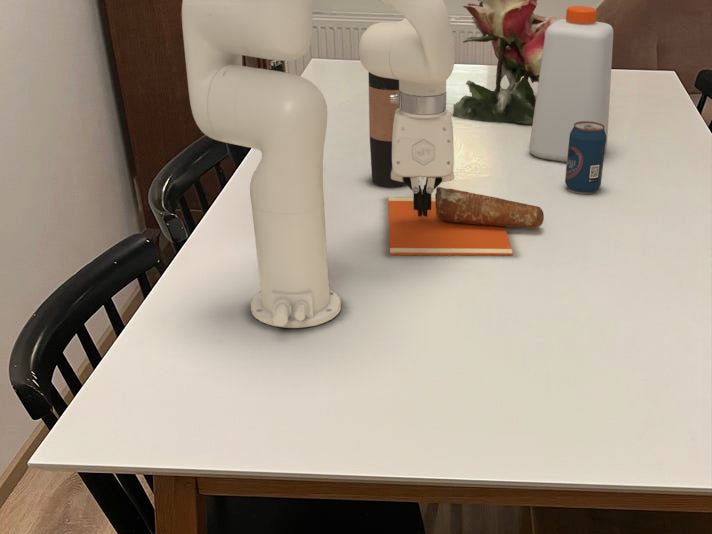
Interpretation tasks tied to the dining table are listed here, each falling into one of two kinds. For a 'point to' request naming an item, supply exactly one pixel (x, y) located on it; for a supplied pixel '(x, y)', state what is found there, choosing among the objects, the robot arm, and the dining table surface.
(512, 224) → the bread
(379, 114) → the travel mug
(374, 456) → the dining table surface
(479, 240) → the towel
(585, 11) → the plastic bottle
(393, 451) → the dining table surface
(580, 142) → the soda can
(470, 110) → the rose bouquet
